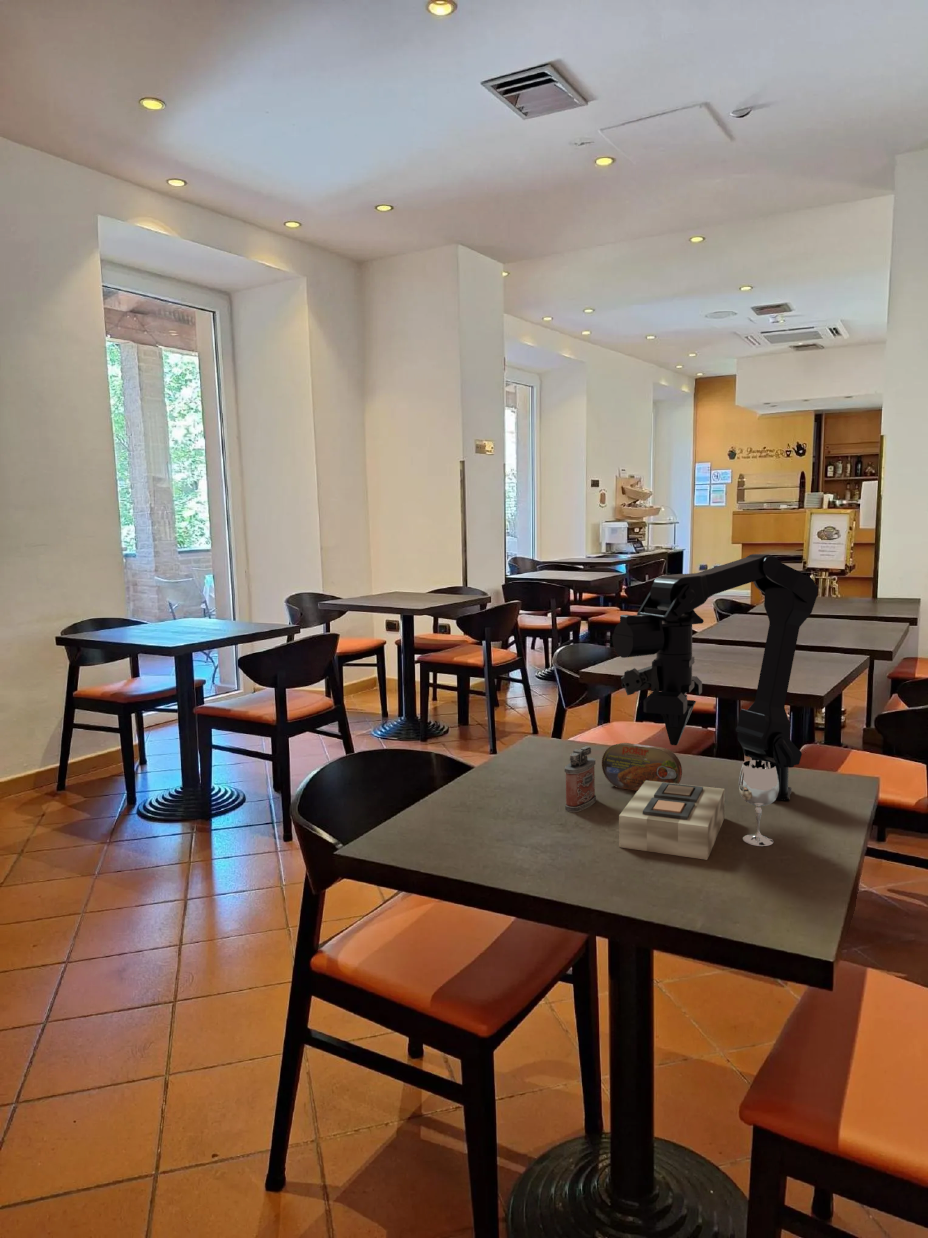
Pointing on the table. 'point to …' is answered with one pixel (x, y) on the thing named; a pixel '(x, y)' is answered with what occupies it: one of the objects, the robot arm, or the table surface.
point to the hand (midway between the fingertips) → (674, 744)
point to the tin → (640, 765)
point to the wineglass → (758, 793)
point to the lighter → (580, 780)
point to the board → (672, 821)
